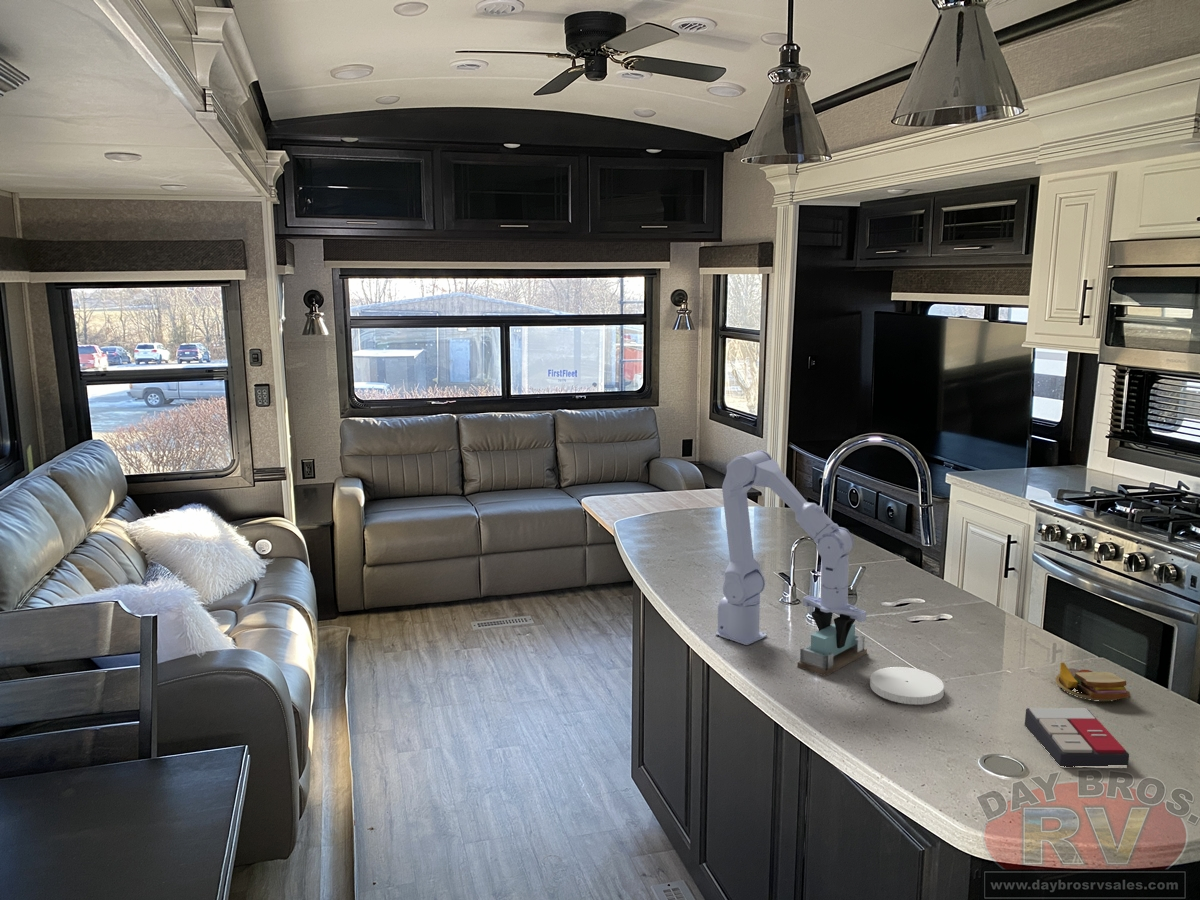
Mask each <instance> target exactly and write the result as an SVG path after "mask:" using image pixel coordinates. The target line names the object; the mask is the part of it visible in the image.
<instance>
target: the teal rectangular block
mask: <svg viewBox="0 0 1200 900" xmlns="http://www.w3.org/2000/svg"><path fill="white" fill-rule="evenodd" d="M855 634H856V623H855V622H854V623H853V625H852V626H851V628H850V630H849V633H848V635H847V638H846V642H845V646H844V647H842V648H837V641H836V627H835V623H834V622H833V623H831V625H830V626H828V627H826V628H824V629H822V630H820V631H819V630H818V631H816V632H814V633H811V634H810V646H811V651H814V652H818V653H821V654H824V655H826V654H828V653H830V652H831V653H834V655H833V656H835V655H837V654H839V653H841V652H843V651H845V650H846V649H848V648H850V647H852V646H854V643H855Z"/></svg>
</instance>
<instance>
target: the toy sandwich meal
mask: <svg viewBox="0 0 1200 900" xmlns="http://www.w3.org/2000/svg"><path fill="white" fill-rule="evenodd" d="M1059 668H1060V669H1059V674H1058V675H1056V677H1055V678H1054V679H1055V683H1056V685H1057V686H1058V687H1059V688H1060V689H1061V688H1062V689H1063V690H1065V691H1066V692H1068V693H1071V694H1073V695H1076V696H1078V697H1082V698H1086V699H1091V700H1099V701H1111V700H1116V701H1118V700H1120V699H1126V698H1131V697H1130V695H1131V693H1130V691H1128V690H1127V688H1126V686H1127V679H1123V678H1121V677H1119V676H1118V675H1116V674H1114V673H1113V672H1111V671H1092V670H1089V669H1081V670H1079V669H1077V668H1068V667H1067V665H1066V664H1065V662H1060V667H1059ZM1074 688H1075V689H1076V690H1078V691H1076V692H1074V691H1072V690H1073V689H1074ZM1062 689H1061V690H1062ZM1063 690H1062V691H1063ZM1065 691H1064V692H1065ZM1066 692H1065V693H1066ZM1077 692H1079V693H1077ZM1081 692H1082V693H1081ZM1068 693H1067V694H1068ZM1078 697H1077V698H1078ZM1117 699H1118V700H1117ZM1111 702H1112V701H1111Z"/></svg>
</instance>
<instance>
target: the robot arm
mask: <svg viewBox="0 0 1200 900" xmlns="http://www.w3.org/2000/svg"><path fill="white" fill-rule="evenodd" d="M755 486H756V487H763V488H769V489H770V490H771V491H772V492H773V493H774V494H776V496H777V497H778V498H780V500H782V501H783V503H784V504H786V505H787V506H788V507H789V508H790V509H791V510H792V511H793V512H794V515H795V516H794V517H795V522H796V523H797V524H798V525H799V526H800V527H801V528H802V530H804V532H806V534H807V535H808V536H809V537H810V538H811V539H812V540H813V541H814V542H815V543H816V545H815V546H816V550H817V553H818V555H819V556H820V559H821V563H820V567H821V569H820V596H819V597H818V596H812V595H810V594H809V595H806V596H803V598H802V606H803V607H806V608H807V607H811V608H814V610H813V611H811V618H812V619H813V622H815V624H816V628H817V629H818V631H820V630H822V629H824V628H826V627H828V626H830V625H832V618H833V615H834V614H836V615H838V616H837V617H835V618H833V624H834V623H835V627H836V641H837V648H842V647H844V646H845V642H846V638H847V635H848V633H849V630H850V628H851V626H852V625H853V623H854V624H855V622H856V621H857V622H859V623H862V622H864V621H866V620H867V611H866V610H863V609H860V608H858V607H856V606H854V605H852V604H850V603H848V602H849V597H848V596H849V568H850V565H849V564H850V563H849V562H850V559H849V558H850V557H849V556H850V554H849V553H850V551H851V550H852V549H853V547H854V541H855V540H854V537H853V536H852V534H851V532H850V531H849V529H847V528H846V527H842V526H839V525H838V523H835V522H834V521H833V520H832V519H831V518H830V517H829V516H828V515H827V514H826V513H825V512H824V510H825V509H824V508H823V506H822V505H818V504H817V503H815V502H809V501H807V500H806V499H805V498H804V497H803V496H802V494H801V493H800V492H799V491H798V489H797V488H796V487H795V486H794V484H793V483H792V481H790V480H789V478H788V477H787V476H786V475H785V473H783V471H782V470H781V468H780V465H779V463H778V461H777V460H775V459H774V458H772V456H771V455H770V453H768V452H767V451H766V450H763V449H757V450H754V451H752V452H750V453H746V454H744V455H738V456H735V457H733V459H731V461H730V462H728V464H726V474H725V477H724V479H723V483H722V487H721V488H722V489H721V491H722V499H723V500H722V501H723V507H724V508H723V509H724V517H725V526H726V527H725V528H726V536H727V544H728V553H729V563H728V565H727V567H726V569H725V571H724V581H723V584H722V592H723V595H724V596H723V597H722V598H721V599H720V600H719V602H718V603H719V604H718V606H717V631H716V632H715V636H718V635H719V637H721V638H724V639H727V640H729V639H730V641H733V642H736V643H738V644H741V645H744V646H749V645H751V644H753V643H755V642H757V641H759V640H761V639H764V638H766V637H768V634H767V633H766V632H762V631H760V621H761V619H760V616H761V615H760V608H761V605H760V603H761V602H760V601H761V600H760V599H761V593H762V592H764V590H765V587H766V580H765V576H764V575H763V573H762V570H761V564H760V563H759V562H758V561H757V560H756V559H755V558H754V550H753V540H752V532H751V531H752V530H751V529H752V528H751V523H750V512H749V503H748V491H750V489H751V488H752V487H755Z"/></svg>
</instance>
